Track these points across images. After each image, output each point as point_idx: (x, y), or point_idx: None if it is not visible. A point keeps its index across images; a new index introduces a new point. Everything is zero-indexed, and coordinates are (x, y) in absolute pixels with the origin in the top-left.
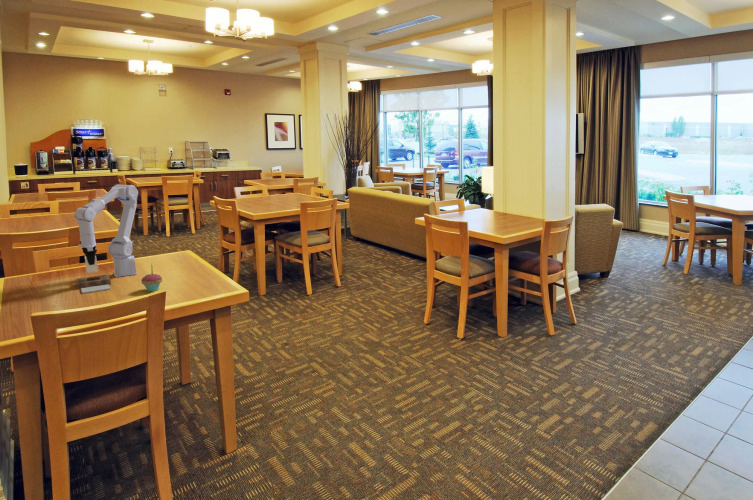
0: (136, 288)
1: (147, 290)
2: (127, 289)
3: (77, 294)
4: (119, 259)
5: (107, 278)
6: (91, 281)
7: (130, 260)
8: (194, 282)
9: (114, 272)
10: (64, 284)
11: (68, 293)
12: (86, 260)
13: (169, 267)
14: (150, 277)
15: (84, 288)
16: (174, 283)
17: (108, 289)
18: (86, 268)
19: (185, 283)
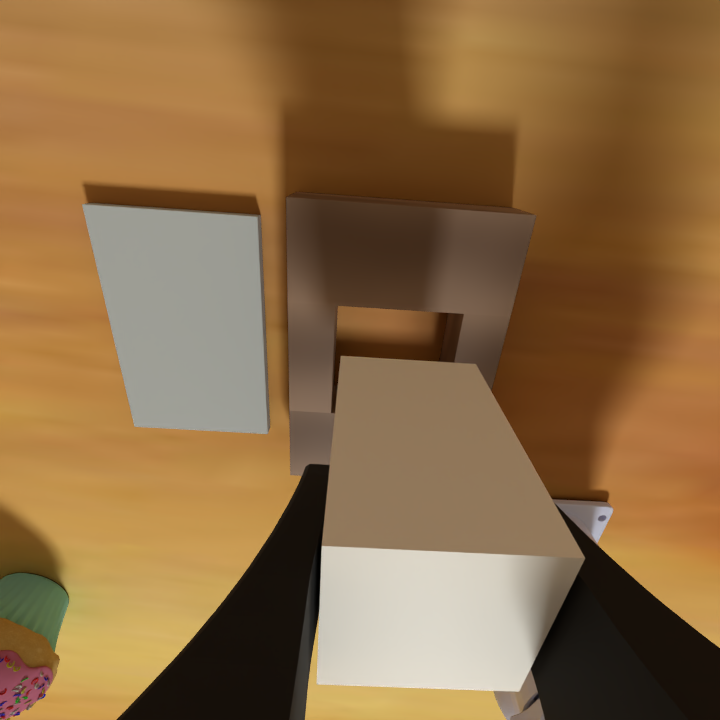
0: (101, 541)
1: (9, 576)
2: (97, 502)
3: (85, 154)
4: (534, 683)
5: (328, 462)
6: (302, 338)
7: (512, 701)
8: (111, 715)
9: (609, 512)
10: (614, 63)
11: (166, 61)
12: (328, 508)
13: (481, 704)
14: None
15: (230, 246)
16: (130, 670)
17: (136, 410)
18: (385, 388)
19: (108, 695)
